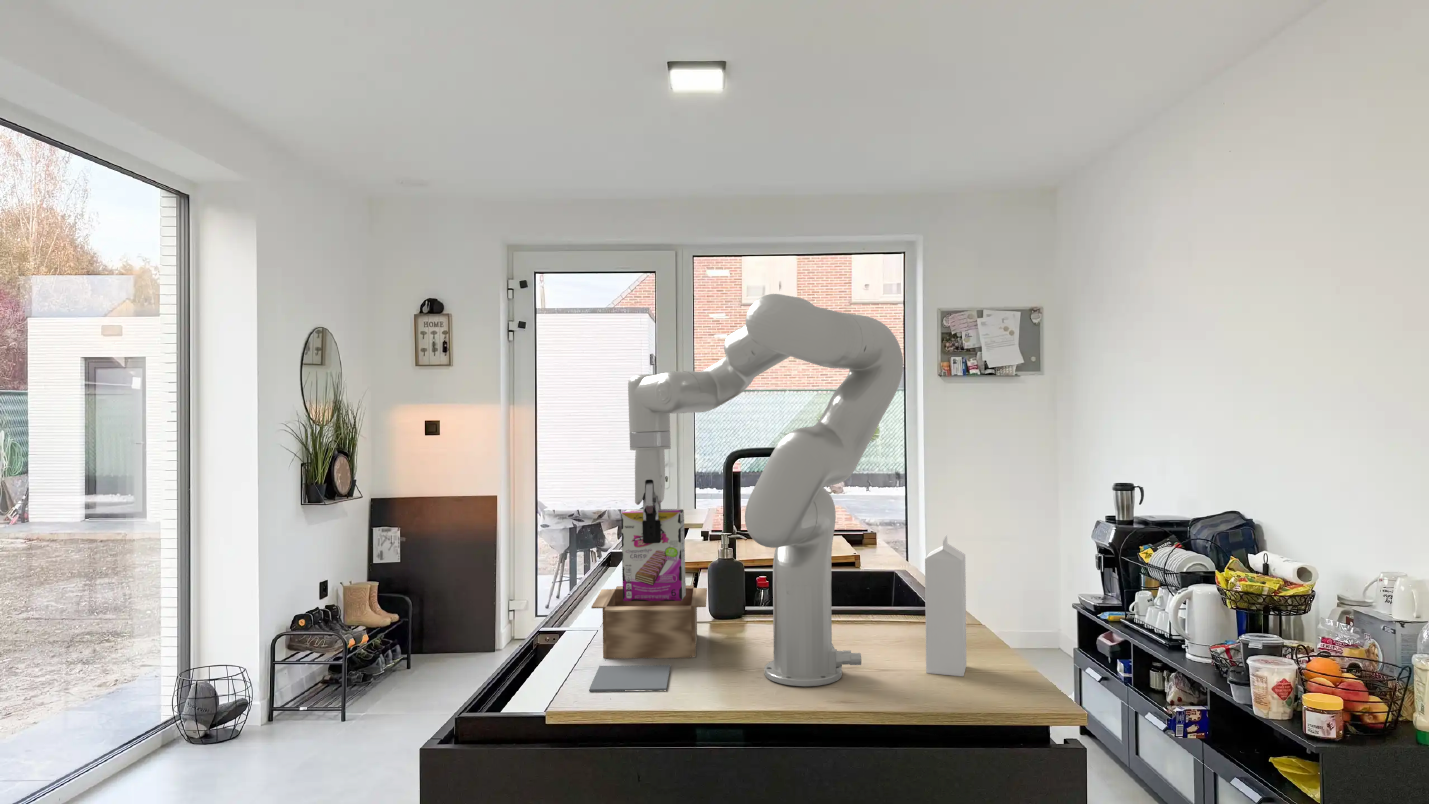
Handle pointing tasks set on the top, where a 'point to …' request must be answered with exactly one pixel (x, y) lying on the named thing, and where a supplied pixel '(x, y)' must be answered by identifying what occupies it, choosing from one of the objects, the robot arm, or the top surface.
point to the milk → (945, 611)
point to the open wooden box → (649, 625)
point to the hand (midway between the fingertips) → (653, 539)
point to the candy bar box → (653, 558)
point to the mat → (630, 678)
